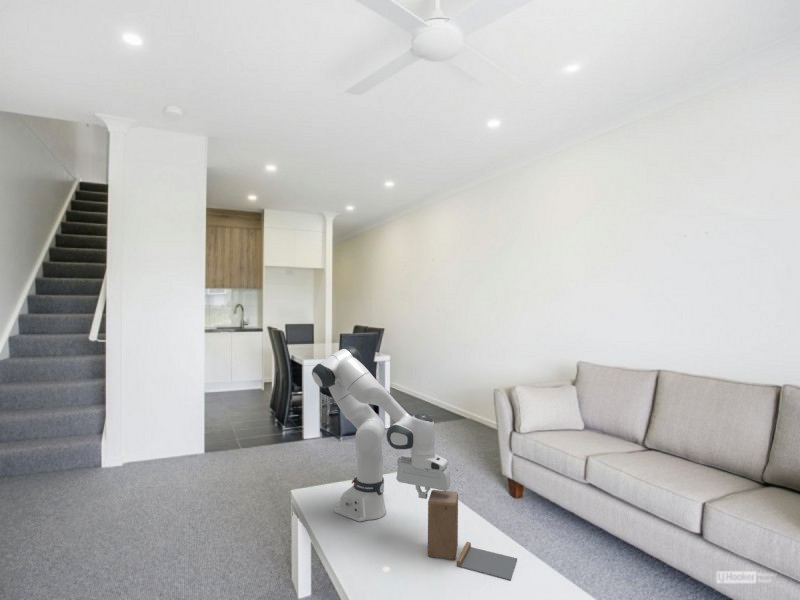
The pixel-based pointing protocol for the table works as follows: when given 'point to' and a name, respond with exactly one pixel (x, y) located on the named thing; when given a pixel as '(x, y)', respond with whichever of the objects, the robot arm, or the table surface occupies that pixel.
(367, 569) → the table surface
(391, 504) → the table surface
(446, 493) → the wooden block
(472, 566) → the mat
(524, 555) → the table surface
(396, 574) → the table surface
